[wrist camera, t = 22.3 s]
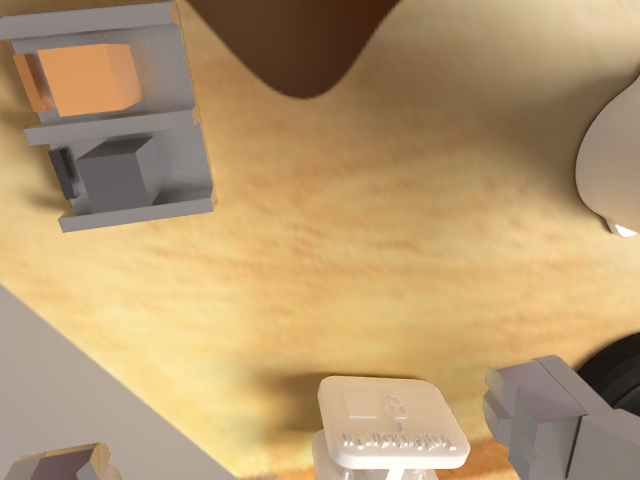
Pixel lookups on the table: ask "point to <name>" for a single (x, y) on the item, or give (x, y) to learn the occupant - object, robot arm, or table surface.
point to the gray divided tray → (130, 123)
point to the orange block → (91, 78)
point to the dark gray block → (121, 174)
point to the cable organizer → (385, 430)
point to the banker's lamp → (617, 375)
